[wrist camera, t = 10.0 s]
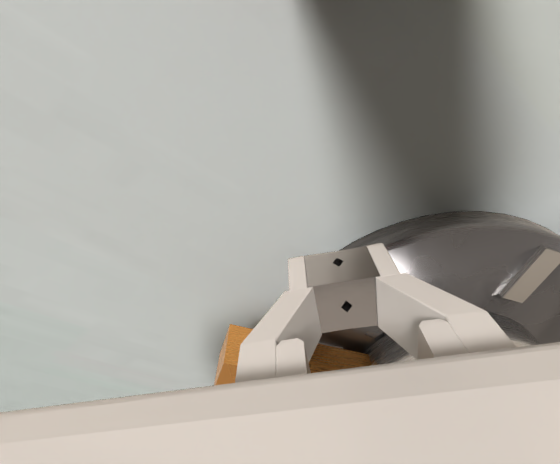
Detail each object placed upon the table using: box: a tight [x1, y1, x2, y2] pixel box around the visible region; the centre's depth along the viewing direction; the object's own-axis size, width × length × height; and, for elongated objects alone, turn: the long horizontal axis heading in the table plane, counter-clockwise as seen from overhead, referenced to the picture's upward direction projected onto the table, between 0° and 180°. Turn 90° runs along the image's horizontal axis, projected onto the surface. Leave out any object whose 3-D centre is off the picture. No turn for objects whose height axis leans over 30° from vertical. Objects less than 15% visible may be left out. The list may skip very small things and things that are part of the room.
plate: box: [318, 211, 560, 353], centre depth 19 cm, size 20×20×2 cm
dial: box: [214, 313, 541, 385], centre depth 16 cm, size 18×11×3 cm, turn 71°
